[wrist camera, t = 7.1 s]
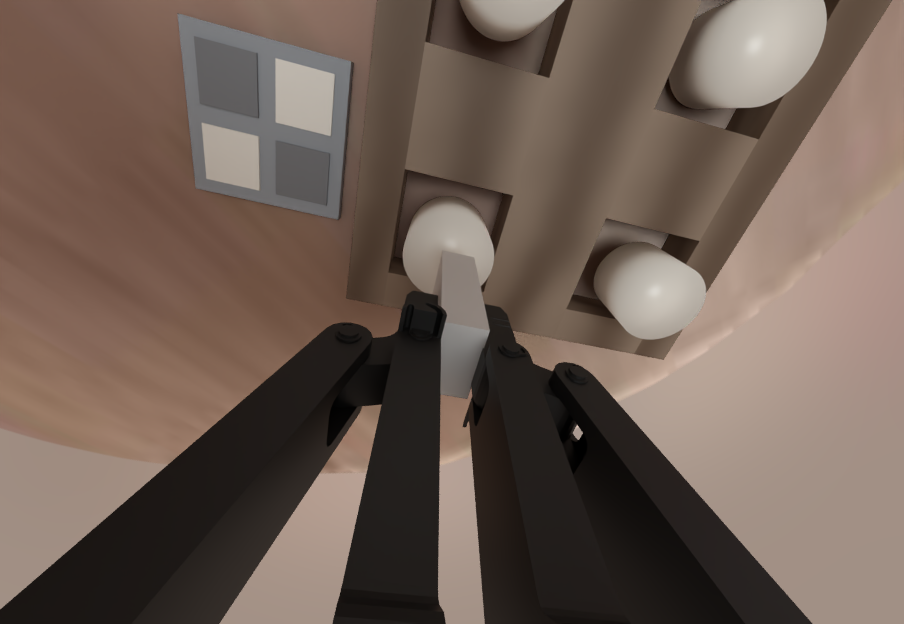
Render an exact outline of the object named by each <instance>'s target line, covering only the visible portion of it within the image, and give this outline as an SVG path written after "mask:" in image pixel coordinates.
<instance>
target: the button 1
mask: <svg viewBox="0 0 904 624" xmlns="http://www.w3.org/2000/svg"><path fill="white" fill-rule="evenodd" d="M442 250H443V251H448V252H452V253H457V254H462V255H466V256H471V257H474V259H475V264H476V268H477V273H478V278H479V282H480V287H481V285H482V284H483V283H484V282H485V281H486V279H487V278H488V276H489V274H490V272H491V270H492V267H493V263H494V249H493V244H492V241H491V238H490V236H489V233H488V230H487V228H486V225H485V223H484V220H483V218H482V216H481V214H480V213H479V211H478V210H477V209H476V208H475V207H474V206H473V205H472V204H470V203H469V202H467V201H465V200H463V199H461V198H458V197H452V196H443V197H438V198H435V199H432V200H430V201H428V202H426V203H425V204H424V205H422V206H421V207H420V208H419V209H418V211H417V212H416V213H415V215H414V217H413V219H412V221H411V224H410V227H409V230H408V234H407V237H406V240H405V244H404V248H403V264H404V268H405V271H406V273H407V275H408V277H409V278H410V280H411V281H412V283H413V284H414V285H415V286H416V287H417V288H418V289H420V290H421V291H423V292H424V293H429V294H433V290H434V285H435V281H436V277H437V272H438V268H439V264H440V259H441V255H442Z"/></svg>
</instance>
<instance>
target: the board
mask: <svg viewBox="0 0 904 624" xmlns="http://www.w3.org/2000/svg"><path fill="white" fill-rule="evenodd" d="M701 1H702V0H564V2H563V3H562V4H561V5H560V6H559V7H558V10H557V13H556V16H555V20H554V23H553V27H552V30H551V33H550V37H549V40H548V44H547V47H546V50H545V54H544V57H543V61H542V64H541V68H540V71H539V74H538V75H537V74H534V73H530V72H527V71H523V70H520V69H517V68H513V67H510V66H506V65H503V64H500V63H496V62H493V61H489V60H486V59H482V58H479V57H476V56H472V55H469V54H465V53H462V52H459V51H455V50H452V49H448V48H445V47H441V46H438V45H435V44H431V43H429V40H430V34H431V28H432V22H433V16H434V9H435V3H436V0H377V5H376V15H375V25H374V34H373V44H372V54H371V63H370V73H369V83H368V92H367V102H366V112H365V121H364V131H363V141H362V150H361V160H360V170H359V179H358V189H357V199H356V208H355V218H354V228H353V237H352V247H351V257H350V266H349V276H348V285H347V295H346V298H347V299H352V300H357V301H362V302H367V303H372V304H378V305H383V306H388V307H393V308H398V309H402V308H403V305H404V304H405V300H406V295H407V294H409V293H410V292H411V291H413V290H414V291H419V292H423V291H421V290H420V289H418V288H417V287H416V286H415V285H414V284H413V283H412V281H411V280H410V278H409V277H408V275H407V273H406V271H405V268H404V264H403V259H402V258H398V257H394V253H395V247H396V241H397V234H398V228H399V222H400V216H401V210H402V204H403V198H404V192H405V186H406V180H407V174H408V170H411V171H415V172H419V173H423V174H427V175H431V176H435V177H440V178H444V179H448V180H452V181H456V182H460V183H464V184H468V185H472V186H476V187H481V188H485V189H489V190H493V191H497V192H501V193H504V194H503V197H502V201H501V204H500V208H499V211H498V214H497V218H496V221H495V225H494V228H493V231H492V235H491V241H492V244H493V249H494V263H493V267H492V270H491V272H490V274H489V276H488V278H487V279H486V281H485V282H484V283H483V284H482V285H481V292H482V296H483V301H484V304H488V305H492V306H497V307H501V308H502V309H503V310H504V312H505V313H506V314H507V315H508V318H509V323H510V325H511V328H512V331H517V332H523V333H528V334H533V335H538V336H543V337H549V338H554V339H559V340H564V341H569V342H574V343H580V344H585V345H590V346H595V347H600V348H605V349H611V350H616V351H621V352H626V353H631V354H637V355H642V356H647V357H652V358H657V359H662V360H664V358H665V357H666V355H667V354H668V352H669V350H670V349H671V347H672V346H673V344H674V343H675V341H676V339H677V338H678V336H679V335H680V333H681V332H682V330H683V329H682V330H680V331H679V332H677V333H675V334H673V335H670V336H668V337H664V338H660V339H652V340H650V339H641V338H637V337H635V336H633V335H631V334H630V333H628V332H627V331H626V330H625V329H624V327H623V326H622V325H621V324H620V323H619V322H618V320H617V319H616V318H615V317H614V316H613V315H612V313H611V312H610V311H609V310H608V309H607V307H606V306H605V305H604V304H603V303H602V302H601V300H596V299H591V298H587V297H582V296H577V295H573V293H574V290H575V288H576V286H577V283H578V281H579V279H580V277H581V274H582V272H583V270H584V268H585V265H586V263H587V261H588V258H589V256H590V254H591V252H592V249H593V247H594V245H595V242H596V240H597V238H598V236H599V233H600V231H601V229H602V227H603V224H604V222H605V220H606V218H607V219H611V220H616V221H620V222H624V223H628V224H632V225H636V226H640V227H644V228H648V229H652V230H656V231H661V232H665V233H669V234H670V235H669V237H668V238H667V240H666V242H665V244H664V246H663V248H662V250H663V251H664V252H666V253H668V254H669V255H671V256H673V257H674V258H676V259H678V260H679V261H681V262H682V263H684V264H686V265H687V266H689V267H691V268H692V269H694V270H695V271H697V272H698V273H699V274H700V275H701V277H702V278H703V280H704V282H705V286H706V292H707V291H708V289H709V288H710V286H711V284H712V283H713V281H714V280H715V278H716V277H717V275H718V273H719V272H720V270H721V269H722V267H723V266H724V264H725V262H726V261H727V259H728V258H729V256H730V255H731V253H732V251H733V250H734V248H735V247H736V245H737V244H738V242H739V240H740V239H741V237H742V236H743V234H744V233H745V231H746V229H747V228H748V226H749V225H750V223H751V222H752V220H753V218H754V217H755V215H756V214H757V212H758V211H759V209H760V207H761V206H762V204H763V203H764V201H765V200H766V198H767V196H768V195H769V193H770V192H771V190H772V189H773V187H774V185H775V184H776V182H777V181H778V179H779V178H780V176H781V174H782V173H783V171H784V170H785V168H786V166H787V165H788V163H789V162H790V160H791V159H792V157H793V155H794V154H795V152H796V151H797V149H798V148H799V146H800V144H801V143H802V141H803V140H804V138H805V137H806V135H807V133H808V132H809V130H810V129H811V127H812V126H813V124H814V122H815V121H816V119H817V118H818V116H819V115H820V113H821V111H822V110H823V108H824V107H825V105H826V104H827V102H828V100H829V99H830V97H831V96H832V94H833V93H834V91H835V89H836V88H837V86H838V85H839V83H840V82H841V80H842V78H843V77H844V75H845V74H846V72H847V71H848V69H849V67H850V66H851V64H852V63H853V61H854V60H855V58H856V56H857V55H858V53H859V52H860V50H861V49H862V47H863V45H864V44H865V42H866V41H867V39H868V38H869V36H870V34H871V33H872V31H873V30H874V28H875V27H876V25H877V23H878V22H879V20H880V19H881V17H882V16H883V14H884V12H885V11H886V9H887V8H888V6H889V5H890V3H891V1H892V0H824V3H825V7H826V13H827V23H826V31H825V35H824V39H823V42H822V45H821V48H820V50H819V53H818V55H817V57H816V59H815V60H814V62H813V64H812V65H811V67H810V69H809V70H808V71H807V73H806V74H805V75H804V77H803V78H802V79H801V80H800V81H799V82H798V83H797V84H796V85H795V86H794V87H793V88H792V89H791V90H790V91H788V92H787V93H786V94H785V95H783V96H782V97H780V98H778V99H777V100H775V101H773V102H771V103H768V104H766V105H763V106H759V107H752V108H737V110H736V112H735V113H734V115H733V117H732V119H731V121H730V123H729V125H728V126H727V128H726V130H725V129H721V128H718V127H715V126H711V125H708V124H704V123H701V122H698V121H694V120H691V119H687V118H684V117H681V116H677V115H674V114H670V113H667V112H663V111H660V110H657V109H654V108H655V106H656V104H657V101H658V99H659V97H660V95H661V92H662V90H663V88H664V85H665V83H666V81H667V79H668V76H669V74H670V72H671V69H672V67H673V65H674V63H675V60H676V58H677V56H678V54H679V51H680V49H681V47H682V44H683V42H684V40H685V38H686V35H687V33H688V31H689V29H690V26H691V24H692V22H693V19H694V17H695V15H696V13H697V10H698V8H699V6H700V3H701Z"/></svg>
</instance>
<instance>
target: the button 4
mask: <svg viewBox="0 0 904 624" xmlns="http://www.w3.org/2000/svg"><path fill="white" fill-rule="evenodd" d="M826 23H827V13H826V7H825V3H824V0H733V1H730V2H728V3H725V4H723V5H721V6H718V7H716V8H713V9H711V10H709V11H707V12H705V13H703V14H702V15H701V16H699V17H698V18H697V19H696V20H694V21H693V22H692V24H691V26H690V29H689V31H688V33H687V35H686V38H685V40H684V42H683V44H682V47H681V49H680V51H679V54H678V56H677V58H676V60H675V63H674V65H673V67H672V69H671V72H670V74H669V82H670V87H671V90H672V92H673V94H674V96H675V98H676V99H677V100H678V101H679V102H680V103H681V104H683V105H684V106H686V107H689V108H692V109H723V108H752V107H759V106H763V105H766V104H768V103H771V102H773V101H775V100H777V99H778V98H780V97H782V96H783V95H785V94H786V93H787V92H788V91H790V90H791V89H792V88H793V87H794V86H795V85H796V84H797V83H798V82H799V81H800V80H801V79H802V78H803V77H804V75H805V74H806V73H807V71H808V70H809V69H810V67H811V65H812V64H813V62H814V60H815V59H816V57H817V55H818V53H819V50H820V48H821V45H822V42H823V39H824V35H825V31H826Z"/></svg>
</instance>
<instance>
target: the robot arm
mask: <svg viewBox="0 0 904 624" xmlns="http://www.w3.org/2000/svg"><path fill="white" fill-rule="evenodd" d="M471 386H472V399H471V402H470V405H469V408H468V410H467V413H466V416H465V419H464V423H463V427H466V426H467V423H468V421H469V424H470V437H471V450H472V461H473V462H472V463H473V475H474V489H475V502H476V514H477V527H478V540H479V553H480V566H481V578H482V592H483V605H484V618H485V624H812V623H811V622H810V621H809V619H808V618H807V617H806V616H805V615H804V614H803V613H802V611H801V610H800V609H799V608H798V607H797V606H796V605H795V603H794V602H793V601H792V600H791V599H790V598H789V597H788V595H786V593H785V592H784V591H783V590H782V589H781V588H780V586H779V585H778V584H777V583H776V582H775V581H774V580H773V578H772V577H771V576H770V575H769V574H768V573H767V572H766V571H765V569H764V568H762V566H761V565H760V564H759V563H758V561H757V560H756V559H755V558H754V557H753V556H752V555H751V554H750V552H749V551H748V550H747V549H746V548H745V547H744V546H743V544H742V543H741V542H740V541H739V540H738V539H737V538H736V537H735V535H734V534H733V533H732V532H731V531H730V530H729V529H728V527H727V526H726V525H725V524H724V523H723V522H722V521H721V520H720V519H719V517H718V516H717V515H716V514H715V513H714V512H713V510H712V509H711V508H710V507H709V506H708V505H707V504H706V503H705V501H703V499H702V498H701V497H700V496H699V495H698V494H697V492H696V491H695V490H694V489H693V488H692V487H691V486H690V484H689V483H688V482H687V481H686V480H685V479H684V478H683V477H682V475H681V474H680V473H679V472H678V471H677V470H676V469H675V467H674V466H673V465H672V464H671V463H670V462H669V461H668V460H667V458H666V457H665V456H664V455H663V454H662V453H661V451H660V450H659V449H658V448H657V447H656V446H655V445H654V444H653V442H652V441H651V440H650V439H649V438H648V437H647V436H646V435H645V434H644V432H643V431H642V430H641V429H640V428H639V427H638V425H637V424H636V423H635V422H634V421H633V420H632V419H631V417H630V416H629V415H628V414H627V413H626V412H625V411H624V410H623V408H622V407H621V406H620V405H619V404H618V403H617V402H616V400H615V399H614V398H613V397H612V396H611V395H610V394H609V393H608V391H607V390H606V389H605V388H604V387H603V386H602V385H601V383H600V382H599V381H598V380H597V379H596V378H595V377H594V376H593V375H592V374H591V373H590V372H589V371H587V370H586V369H584V368H583V367H581V366H579V365H576V364H573V363H567V362H563V363H558V364H557V365H556V366H555V368H554V370H553V371H550V370H547V369H545V368H542V367H540V366H537V365H535V364H533V362H532V359H531V356H530V354H529V353H528V351H527V350H526V349H525V348H524V347H523V346H521V345H520V344H518V343H516V340H515V337H514V334H513V331H512V328H511V325H510V323H509V318H508V315H507V314H506V313H505V312H504V310H503V309H502V308H501V307H497V306H492V305H488V304H484V301H483V296H482V292H481V287H480V282H479V278H478V273H477V268H476V264H475V259H474V257H471V256H466V255H462V254H457V253H452V252H448V251H443V250H442V255H441V259H440V264H439V268H438V272H437V277H436V281H435V285H434V290H433V294H429V293H424V292H419V291H414V290H413V291H411V292H410V293H409V294H407V295H406V300H405V304H404V305H403V308H402V313H401V318H400V323H399V329H398V331H397V332H396V333H395V334H393V335H391V336H387V337H381V338H373V337H372V334H371V332H370V331H369V330H368V329H367V328H365V327H363V326H361V325H358V324H354V323H338V324H333V325H331V326H329V327H328V328H326V329H325V330H324V331H323V332H321V333H320V334H319V335H318V336H317V337H316V338H314V339H313V340H312V341H311V342H310V343H309V344H308V345H306V346H305V347H304V348H303V349H302V350H301V351H299V352H298V353H297V354H296V355H295V356H294V357H292V358H291V359H290V360H289V361H288V362H287V363H286V364H284V365H283V366H282V367H281V368H280V369H279V370H277V371H276V372H275V373H274V374H273V375H272V376H270V377H269V378H268V379H267V380H266V381H265V382H263V383H262V384H261V385H260V386H259V387H258V388H257V389H255V390H254V391H253V392H252V393H251V394H250V395H248V396H247V397H246V398H245V399H244V400H243V401H241V402H240V403H239V404H238V405H237V406H236V407H235V408H233V409H232V410H231V411H230V412H229V413H228V414H226V415H225V416H224V417H223V418H222V419H221V420H219V421H218V422H217V423H216V424H215V425H214V426H212V427H211V428H210V429H209V430H208V431H207V432H206V433H204V434H203V435H202V436H201V437H200V438H199V439H197V440H196V441H195V442H194V443H193V444H192V445H190V446H189V447H188V448H187V449H186V450H185V451H184V452H182V453H181V454H180V455H179V456H178V457H177V458H175V459H174V460H173V461H172V462H171V463H170V464H168V465H167V466H166V467H165V468H164V469H163V470H162V471H160V472H159V473H158V474H157V475H156V476H155V477H153V478H152V479H151V480H150V481H149V482H148V483H146V484H145V485H144V486H143V487H142V488H141V489H140V490H138V491H137V492H136V493H135V494H134V495H133V496H131V497H130V498H129V499H128V500H127V501H126V502H124V503H123V504H122V505H121V506H120V507H119V508H117V509H116V510H115V511H114V512H113V513H112V514H111V515H109V516H108V517H107V518H106V519H105V520H104V521H103V522H101V523H100V524H99V525H98V526H97V527H96V528H94V529H93V530H92V531H91V532H90V533H89V534H87V535H86V536H85V537H84V538H83V539H82V540H81V541H79V542H78V543H77V544H76V545H75V546H74V547H72V548H71V549H70V550H69V551H68V552H67V553H65V554H64V555H63V556H62V557H61V558H60V559H58V560H57V561H56V562H55V563H54V564H53V565H51V566H50V567H49V568H48V569H47V570H46V571H45V572H43V573H42V574H41V575H40V576H39V577H37V578H36V579H35V580H34V581H33V582H32V583H31V584H29V585H28V586H27V587H26V588H25V589H24V590H22V591H21V592H20V593H19V594H18V595H17V596H16V597H14V598H13V599H12V600H11V601H10V602H9V603H7V604H6V605H5V606H4V607H3V608H2V609H0V624H219V623H220V622H221V620H222V619H223V617H224V616H225V614H226V613H227V611H228V610H229V608H230V607H231V605H232V604H233V602H234V600H235V599H236V598H237V596H238V595H239V593H240V592H241V590H242V589H243V587H244V586H245V584H246V583H247V581H248V579H249V578H250V577H251V575H252V574H253V572H254V571H255V569H256V567H257V566H258V564H259V563H260V562H261V560H262V559H263V557H264V556H265V554H266V553H267V551H268V550H269V548H270V547H271V545H272V544H273V542H274V541H275V539H276V537H277V536H278V535H279V533H280V532H281V530H282V529H283V527H284V526H285V524H286V523H287V521H288V519H289V518H290V517H291V515H292V514H293V512H294V511H295V509H296V508H297V506H298V505H299V503H300V502H301V500H302V499H303V497H304V495H305V494H306V493H307V491H308V490H309V488H310V487H311V485H312V484H313V482H314V480H315V479H316V478H317V476H318V475H319V473H320V472H321V470H322V469H323V467H324V466H325V464H326V463H327V461H328V460H329V458H330V457H331V455H332V454H333V452H334V451H335V449H336V448H337V446H338V445H339V443H340V442H341V440H342V439H343V437H344V436H345V434H346V433H347V431H348V430H349V428H350V427H351V425H352V424H353V422H354V421H355V419H356V418H357V416H358V415H359V413H360V411H361V408H362V406H369V405H380V404H382V406H381V411H380V415H379V420H378V424H377V429H376V433H375V438H374V443H373V447H372V452H371V456H370V461H369V465H368V470H367V474H366V479H365V484H364V488H363V493H362V497H361V502H360V506H359V511H358V515H357V520H356V524H355V529H354V534H353V539H352V543H351V548H350V552H349V556H348V561H347V565H346V570H345V575H344V579H343V584H342V588H341V592H340V596H339V599H338V603H337V607H336V611H335V615H334V620H333V624H446V623H445V617H444V612H443V610H442V608H441V607H440V605H439V600H438V535H439V532H438V531H439V462H440V394H441V395H447V396H453V397H459V398H465V399H467V398H468V395H469V392H470V389H471ZM577 425H578V426H579V428H580V429H581V431H582V432H583V434H582V436H581V438H580V439H579V440H577V439H576V438H575V436H574V435H573V431H574V429H575V427H576V426H577Z"/></svg>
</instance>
